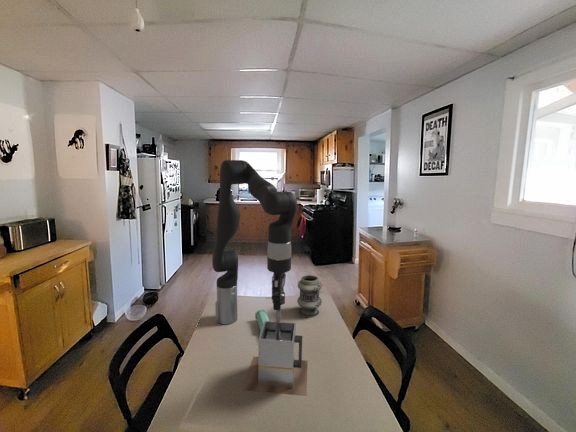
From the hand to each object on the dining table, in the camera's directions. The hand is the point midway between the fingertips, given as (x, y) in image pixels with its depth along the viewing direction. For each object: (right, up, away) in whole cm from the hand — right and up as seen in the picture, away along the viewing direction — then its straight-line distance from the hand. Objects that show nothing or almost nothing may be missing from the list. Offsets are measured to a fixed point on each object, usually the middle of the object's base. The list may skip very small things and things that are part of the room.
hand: (278, 303), depth 89 cm
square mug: (+1, -25, +4) cm, 26 cm away
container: (-6, -23, +29) cm, 37 cm away
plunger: (0, -13, +2) cm, 13 cm away
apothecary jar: (+14, -20, +49) cm, 54 cm away
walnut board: (-1, -26, +4) cm, 27 cm away
